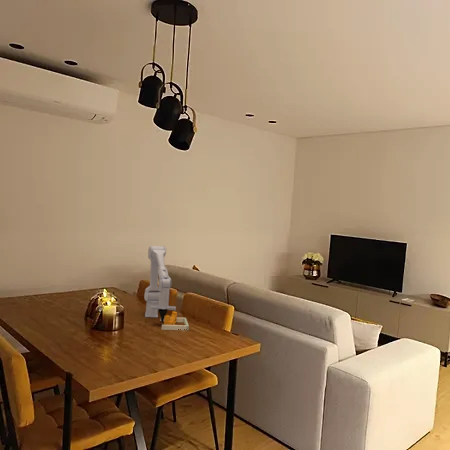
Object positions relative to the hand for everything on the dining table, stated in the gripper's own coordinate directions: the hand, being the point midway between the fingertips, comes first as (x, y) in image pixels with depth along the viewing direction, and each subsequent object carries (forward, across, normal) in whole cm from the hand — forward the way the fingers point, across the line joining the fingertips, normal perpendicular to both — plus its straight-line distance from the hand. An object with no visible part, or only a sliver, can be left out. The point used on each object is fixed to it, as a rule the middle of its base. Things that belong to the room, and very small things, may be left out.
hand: (162, 322), depth 250 cm
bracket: (+2, +6, 0) cm, 7 cm away
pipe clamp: (+2, +6, +1) cm, 6 cm away
